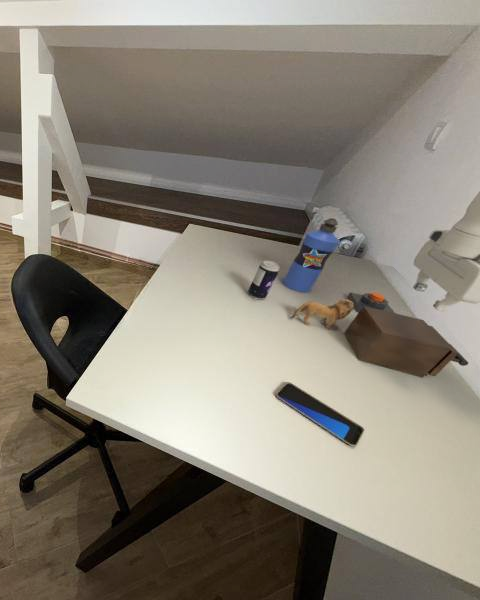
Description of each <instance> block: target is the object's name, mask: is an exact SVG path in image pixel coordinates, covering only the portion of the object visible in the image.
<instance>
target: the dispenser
mask: <svg viewBox="0 0 480 600" xmlns="http://www.w3.org/2000/svg"><path fill="white" fill-rule="evenodd" d="M430 326H431V325H429V324H428V323H427V322H426V321H425V320H424V319H422V318H417V317H412V316H409V315H404V314H400V313H396V312H395V313H391V312H387V311H383V310H379V309H374V308H370V307H366V306H363V307H362V309H361V310H360V312H359V313H358V312H357V314H356V316H355V317H354V319H353V320H352V321H351V323H350V324H349V325H348V327H347V328H346V330H344V335H345V337H346V339H347V341H348V342H349V344H350V346H351V348H352V350H353V351H354V353H355V355H356V357H357V359H358V361H360V362H364V363H368V364H372V365H375V366H378V367H382V368H386V369H389V370H394V371H396V372H400V373H404V374H407V375H412V376H415V377H419V378H424V377H425V376H426V375H428V372H429V371H430V370H431V369H432V368H433V367H434V366H435V365H436V364H437V363H438V362H439V361H440V360H441V359H442V358H443V357H444V356H445V355H446V354H447V353H448V352H449V351H450V350H451V348H450V347H449V346H448V345H447V344H446V343H445V342H444V341H443V340H442V339H441V338H440V337H439V336H438V335H437V334H436V333H435V332H434V331H433V330H432V329H431V327H430Z"/></svg>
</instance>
